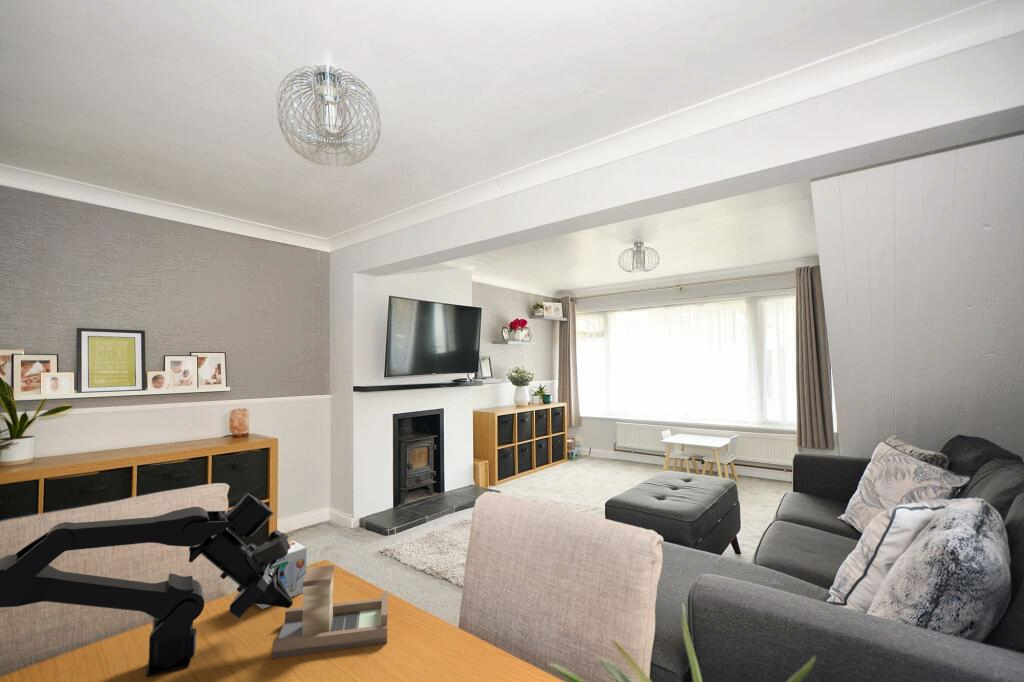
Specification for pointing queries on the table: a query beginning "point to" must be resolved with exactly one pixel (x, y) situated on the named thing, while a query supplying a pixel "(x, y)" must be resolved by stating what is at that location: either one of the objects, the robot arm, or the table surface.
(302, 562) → the light bulb box
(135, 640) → the table surface
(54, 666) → the table surface
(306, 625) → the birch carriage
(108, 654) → the table surface
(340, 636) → the box
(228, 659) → the table surface
